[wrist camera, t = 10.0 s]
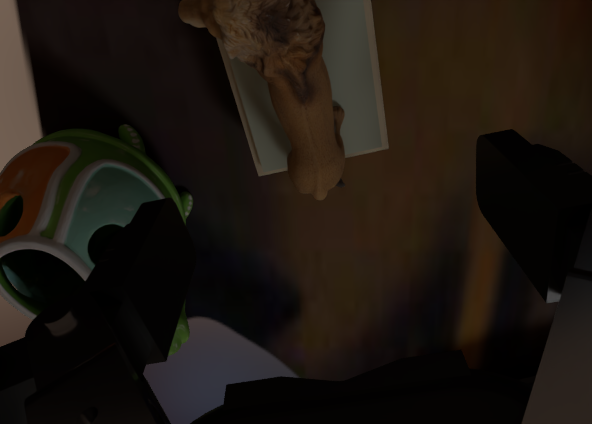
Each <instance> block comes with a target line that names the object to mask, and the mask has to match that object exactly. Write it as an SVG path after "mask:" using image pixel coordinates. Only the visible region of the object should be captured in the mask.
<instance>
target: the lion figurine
mask: <svg viewBox="0 0 592 424" xmlns="http://www.w3.org/2000/svg"><path fill="white" fill-rule="evenodd" d="M178 13H179V17H180V18H181V20H182V21H184V22H185V23H189V24H191V25H193V26H195V27H198V28H201V27H207V29H208V31H209V32H210V34H212V35H213V36H215V37H217V38H219V39H221V40H222V42H223V45H224V47H225V49H226V51H227V54H228V56H229V58H230V59H233V58H235V57H237V58H238V59H239V60H240V61H241V62H244V63H246V64H247V65H249V66H250V67H252V68H254V69H256V70H257V72H258V73H259V75H260V76H261V77H262V78H263V79H264V80H266V81H267V83H268V89H269V93H270V97H271V101H272V105H273V107H274V110H275V112H276V114H277V117H278V119H279V121H280V123H281V125H282V127H283V129H284V131H285V133H286V135H287V137H288V138H289V141H290V143H291V147H292V150H291V152H290V153H289V154H288V157H287V168H288V174H289V177H290V179H291V180H292V182H293V184H294V185H295V187H296V188H297V189H298V191H299V192H301V193H304V194H307V193H311V194H312V195H313V196H314V198H315V199H317V200H323V199H324V198H325V197H326V196H327V192H328V190H329V189H331V188H333V187H334V186H335V185H336V186H338V187H344V186H345V184H344V183H343V182H342V179H341V176H342V173H343V170H344V165H345V150H344V144H343V140H342V137H341V136H340V129H341V125H342V122H343V120H344V116H345V112H344V110H343V109H342V108H341V107H340V106H334V107H333V103H332V89H331V83H330V78H329V74H328V71H327V67H326V65H325V62H324V60H323V57H322V52H323V38H324V33H325V23H324V20H323V17H322V13H321V11H320V9H319V8H318V7H317V5H316V2H315V0H182V1H181V2H180V4H179V10H178Z"/></svg>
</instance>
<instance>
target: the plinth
mask: <svg viewBox="0 0 592 424" xmlns="http://www.w3.org/2000/svg"><path fill="white" fill-rule="evenodd" d="M315 2H316V5H317V7H318V8H319V9H320V11H321V13H322V17H323V20H324V23H325V33H324V38H323V52H322V57H323V60H324V62H325V65H326V67H327V71H328V74H329V78H330V83H331V89H332V103H333V107H334V106H340V107H341V108H342V109H343V110H344V112H345V116H344V120H343V122H342V125H341V129H340V136H341V137H342V140H343V144H344V150H345V158H347V157H351V156H356V155H361V154H365V153H370V152H375V151H379V150H384V149H389V147H388V139H387V130H386V122H385V114H384V106H383V97H382V89H381V81H380V72H379V64H378V56H377V48H376V39H375V31H374V23H373V14H372V6H371V0H315ZM216 39H217V42H218V46H219V49H220V52H221V55H222V59H223V62H224V65H225V68H226V72H227V75H228V78H229V81H230V85H231V88H232V91H233V94H234V97H235V101H236V104H237V107H238V110H239V114H240V117H241V120H242V123H243V127H244V130H245V133H246V136H247V140H248V143H249V146H250V149H251V153H252V156H253V159H254V162H255V166H256V169H257V172H258V175H259V176H263V175H268V174H272V173H277V172H282V171H286V170H288V168H287V157H288V154H289V153H290V152H291V150H292V147H291V143H290V141H289V138H288V137H287V135H286V133H285V131H284V129H283V127H282V125H281V123H280V121H279V119H278V117H277V114H276V112H275V110H274V107H273V105H272V101H271V97H270V93H269V89H268V83H267V81H266V80H264V79H263V78H262V77H261V76H260V75H259V73H258V72H257V70H256V69H254V68H252V67H250V66H249V65H247V64H246V63H244V62H241V61H240V60H239V59H238V58H237V57H235V58H233V59H230V58H229V56H228V54H227V51H226V49H225V47H224V45H223V42H222V40H221V39H219V38H217V37H216Z"/></svg>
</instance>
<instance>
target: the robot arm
mask: <svg viewBox="0 0 592 424" xmlns="http://www.w3.org/2000/svg"><path fill="white" fill-rule="evenodd" d="M476 195H477V201H478V205H479V208H480V210H481V212H482V214H483V216H484V217H485V218H486V220H487V221H488V222H489V224H490V225H491V227H492V228H493V229H494V231H495V232H496V234H497V235H498V236H499V238H500V239H501V241H502V242H503V243H504V245H505V246H506V248H507V249H508V250H509V252H510V253H511V254H512V256H513V257H514V259H515V260H516V261H517V263H518V264H519V266H520V267H521V268H522V270H523V271H524V273H525V274H526V275H527V277H528V278H529V280H530V281H531V282H532V284H533V285H534V287H535V288H536V289H537V291H538V292H539V293H540V295H541V296H542V298H543V299H544V300H545V302H546V303H550V302H556V301H559V303H558V307H557V310H556V313H555V316H554V320H553V323H552V326H551V329H550V333H549V336H548V339H547V342H546V346H545V349H544V352H543V356H542V359H541V362H540V365H539V369H538V372H537V375H536V378H535V382H534V385H533V386H531V385H529V384H527V383H525V382H522V381H519V380H517V379H514V378H512V377H508V376H505V375H501V374H498V373H494V372H489V371H483V370H477V369H469V367H468V365H467V363H466V360H465V358H464V355H463V353H462V351H461V350H456V351H450V352H443V353H436V354H430V355H423V356H416V357H409V358H403V359H399V360H396V361H394V362H391V363H389V364H386V365H384V366H381V367H379V368H376V369H373V370H371V371H368V372H366V373H363V374H361V375H358V376H356V377H353V378H350V379H348V380H345V381H327V380H315V379H304V378H293V377H275V378H268V379H262V380H255V381H248V382H241V383H235V384H228V385H226V391H225V398H224V404H223V405H221V406H219V407H217V408H215V409H213V410H211V411H209V412H207V413H205V414H204V415H202V416H201V417H199V418H198V419H196V420H194V421H193V422H192V423H190V424H592V176H591V175H590V174H589V173H587V172H584V171H583V169H582V168H581V167H579V166H578V165H577V164H575V163H572V161H571V160H570V159H569V158H567V157H566V156H565V155H564V154H562V153H561V152H560V151H558V150H555V149H552V148H549V147H546V146H543V145H540V144H535V145H532V144H530V143H529V142H528V141H527V140H526V139H524V138H523V137H522V136H521V135H519V134H518V133H517V132H516V131H514V130H513V129H510V130H505V131H500V132H495V133H490V134H485V135H480V136H479V137H478V139H477V145H476ZM105 250H106V252H103V254H102V255H101V257H100V259H99V262H98V263H96V265H95V267H94V268H93V270H92V271H91V273H90V275H89V276H88V278H87V279H86V281H85V283H84V284H83V286H82V287H81V289H80V291H79V292H78V294H77V295H72V296H69V297H66V298H63V299H61V300H59V301H57V302H55V303H53V304H52V305H50V306H49V307H47V308H46V309H44V310H43V311H42V312H41V313H39V314H38V315H37V316H36V317H35V318H34V319H33V321H32V322H31V323H30V325H29V326H28V328H27V330H26V333H25V337H24V338H22V339H19V340H17V341H14V342H11V343H9V344H6V345H4V346H1V347H0V424H171V423H170V421H169V419H168V417H167V416H166V414H165V412H164V410H163V408H162V407H161V405H160V403H159V401H158V400H157V398H156V396H155V394H154V392H153V391H152V389H151V387H150V385H149V383H148V381H147V380H146V378H145V377H144V375H143V372H144V369H145V366H146V364H153V363H159V362H165V361H166V360H167V357H168V354H169V350H170V347H171V344H172V341H173V337H174V334H175V331H176V328H177V324H178V321H179V318H180V315H181V311H182V308H183V305H184V302H185V298H186V295H187V292H188V288H189V285H190V282H191V279H192V275H193V272H194V269H195V265H196V252H195V247H194V244H193V241H192V239H191V237H190V234H189V232H188V230H187V227H186V225H185V223H184V221H183V218H182V216H181V214H180V211H179V209H178V207H177V205H176V203H175V201H174V200H173V199H172V198H164V199H159V200H154V201H149V202H144V203H142V204H141V205H140V207H139V209H138V210H137V212H136V214H135V215H134V217H133V219H132V220H131V222H130V223H129V224H127V225H126V226H125V227H123V228H122V229H121V230H120V231H119V232H118V233H117V234H116V235H114V236H113V238H112V239H111V241H110V243H109V244H108V246H107V247H106V249H105Z"/></svg>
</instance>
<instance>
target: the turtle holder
mask: <svg viewBox="0 0 592 424" xmlns="http://www.w3.org/2000/svg"><path fill="white" fill-rule="evenodd" d="M118 133H119V138H120V139H118V138H115V137H112V136H109V135H107V134H104V133H101V132H98V131H95V130H89V129H65V130H61V131H57V132H54V133H52V134H49V135H47V136H45V137H43V138H41V139H40V140H38V141H36V142H35V143H34V144H33V145H31V146H29V147H27V148H26V149H24V150H22V151H21V152H19V153H18V154H17V155H15V156H14V157H13V158H12V159H11V160H10V161H9V162H8V163H7V164H6V166H5V167H4V168H3V170H2V171H1V173H0V294H1V295H2V297H3V298H4V299H6V301H8V302H9V303H10V304H11V305H12V306H13V307H15V308H16V309H17V310H19V311H20V312H21V313H23V314H24V315H26V316H27V317H29V318H31V319H32V320H33V319H34V318H35V317H36V316H37V315H38V314H39V313H41V312H42V311H43V310H44V309H46V308H47V307H49V306H50V305H52V304H53V303H55V302H57V301H59V300H61V299H63V298H66V297H69V296H72V295H77V294H78V292H79V291H80V289H81V287H82V286H83V284H84V283H85V281H86V279H87V278H88V276H89V275H90V273H91V271H92V270H93V268H94V267H95V265H96V263H98V262H99V259H100V257H101V255H102V254H103V252H106V250H105V249H106V247H107V246H108V244H109V243H110V241H111V239H112V238H113V236H114V235H116V234H117V233H118V232H119V231H120V230H121V229H122V228H123V227H125V226H126V225H127V224H129V223H130V222H131V220H132V219H133V217H134V215H135V214H136V212H137V210H138V209H139V207H140V205H141V204H142V203H144V202H149V201H154V200H159V199H164V198H172V199H173V200H174V201H175V203H176V205H177V207H178V209H179V211H180V214H181V216H182V218H183V221H184V223H185V225H186V218H187V216H188V215H189V213H190V211H191V209H192V205H193V198H192V196H191V194H190V193H189V192H187V191H185V192H182V193H180V194H178V192H177V190H176V188H175V186H174V184H173V183H172V181H171V179H170V178H169V177H168V175H167V174H166V173H165V171H164V170H163V169H162V168H161V167H160V166H159V165H158V164H157V163H155V162H154V161H153V160H152V159H151V158H149V157H148V156H147V155H146V152H145V146H144V143H143V140H142V138H141V136H140V135H139V133H138V132H137V131H136V130H135V129H134V128H133V127H131V126H130V125H127V124H123V125H121V126H120V127H119V129H118ZM11 283H12V284H13V285H14V286H15V287H16V289H17V290H16V289H15V288H14V286H12V284H11ZM189 333H190V332H189V326H188V321H187V318H186V314H185V302H184V305H183V308H182V311H181V315H180V318H179V321H178V324H177V328H176V331H175V334H174V337H173V341H172V344H171V347H170V350H169V354H168V356H169V355H172V354H174V353H175V352H177V351H178V350H179V349H180V347H181V344H182V343H185V342H186V341H187V340H188V338H189Z"/></svg>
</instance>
